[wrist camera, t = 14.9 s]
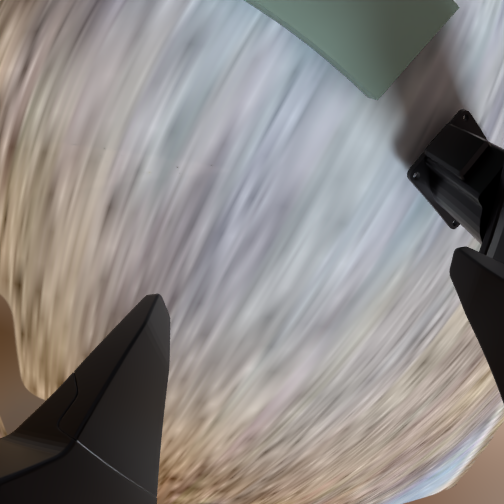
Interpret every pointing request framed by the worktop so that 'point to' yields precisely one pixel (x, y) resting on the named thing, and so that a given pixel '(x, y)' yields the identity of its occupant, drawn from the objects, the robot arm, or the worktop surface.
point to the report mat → (363, 33)
